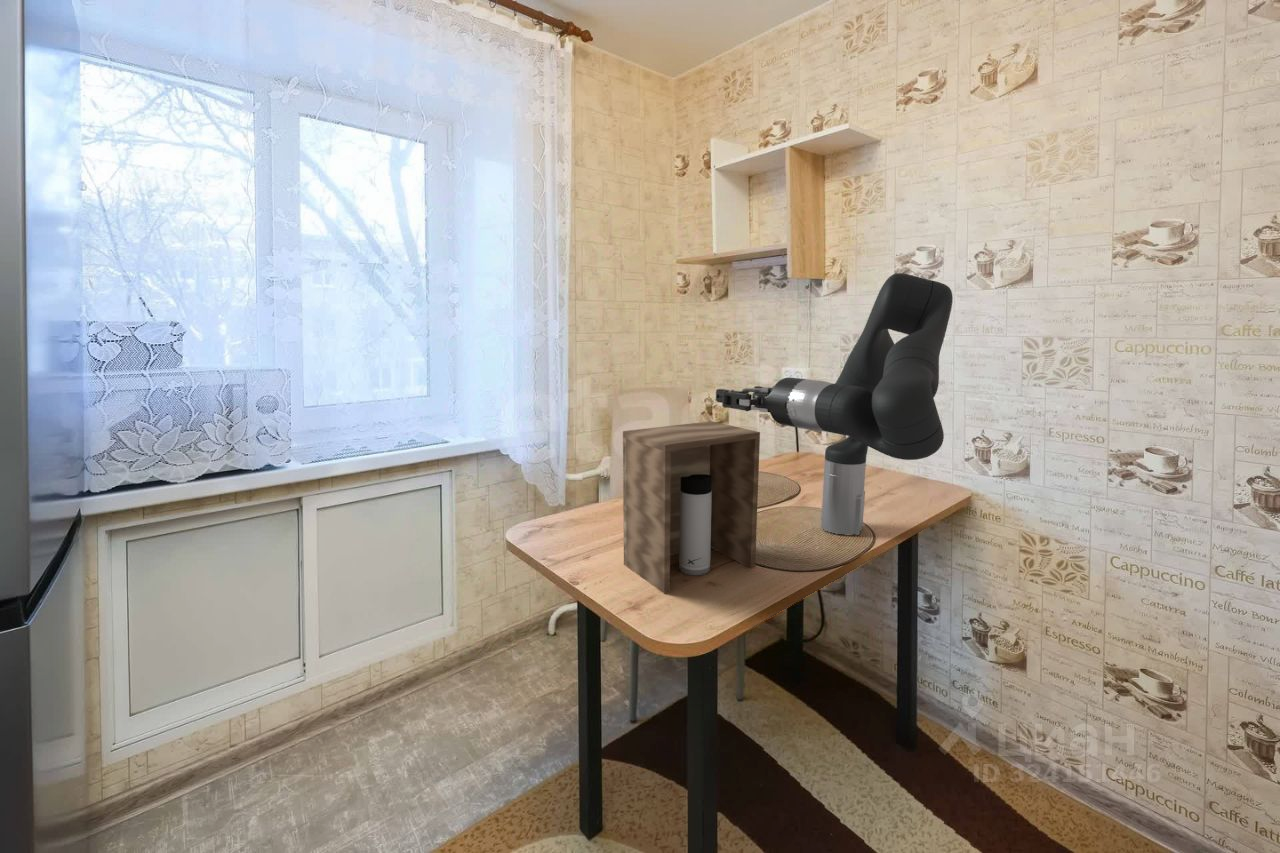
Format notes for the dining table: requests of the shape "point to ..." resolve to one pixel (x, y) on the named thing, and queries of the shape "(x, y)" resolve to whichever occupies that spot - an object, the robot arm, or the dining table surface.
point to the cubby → (656, 492)
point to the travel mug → (695, 524)
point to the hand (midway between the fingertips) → (736, 393)
